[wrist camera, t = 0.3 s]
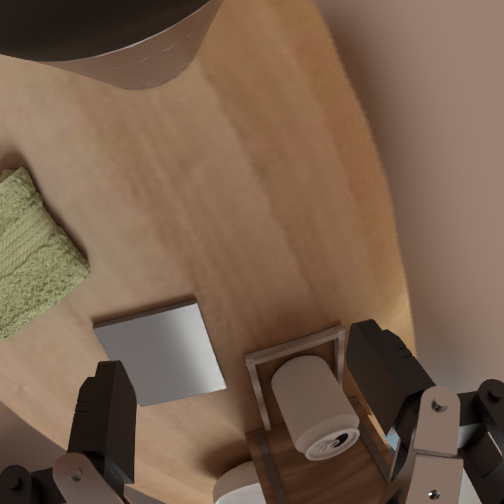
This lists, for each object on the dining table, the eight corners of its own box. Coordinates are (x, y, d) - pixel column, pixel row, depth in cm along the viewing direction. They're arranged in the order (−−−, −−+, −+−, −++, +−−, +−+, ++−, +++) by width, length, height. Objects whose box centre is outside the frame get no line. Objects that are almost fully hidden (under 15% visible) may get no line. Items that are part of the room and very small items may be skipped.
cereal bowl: (313, 455, 52) (326, 484, 46) (250, 490, 55) (258, 517, 48) (257, 437, 44) (269, 474, 38) (188, 476, 47) (194, 509, 40)
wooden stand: (217, 361, 35) (283, 590, 12) (362, 315, 37) (493, 485, 15) (246, 436, 43) (296, 588, 21) (355, 399, 46) (432, 529, 23)
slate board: (93, 324, 29) (92, 329, 29) (196, 298, 31) (196, 303, 30) (140, 402, 35) (140, 406, 35) (225, 383, 37) (226, 388, 36)
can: (317, 386, 42) (352, 455, 31) (265, 394, 40) (293, 470, 29) (330, 347, 38) (376, 419, 28) (273, 354, 36) (309, 436, 26)
